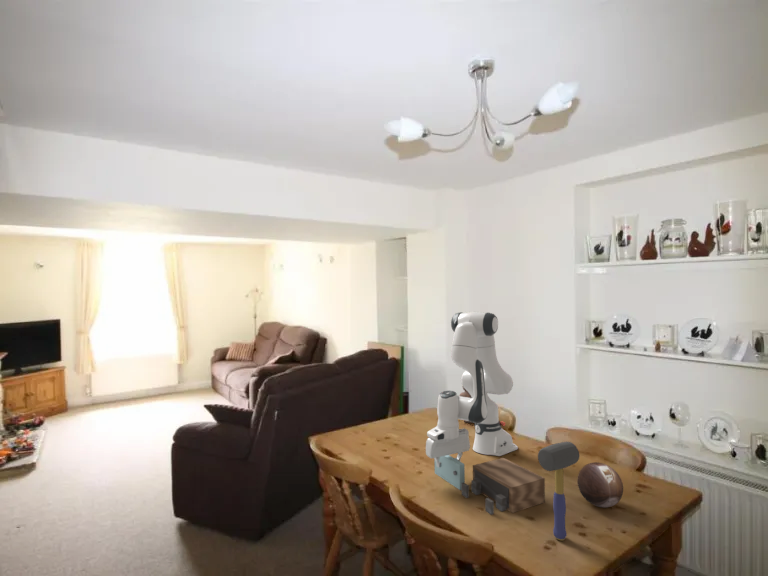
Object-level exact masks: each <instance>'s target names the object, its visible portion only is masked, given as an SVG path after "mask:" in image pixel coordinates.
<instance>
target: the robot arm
mask: <svg viewBox="0 0 768 576" xmlns="http://www.w3.org/2000/svg"><path fill="white" fill-rule="evenodd" d="M450 323H451V324H450V326H451V329H452V330H451V331H453V336H452V342H451V347H450V348H451V349H450V357H451V360H452V361H453V363H454V364H455V365H456V366H458V367H459V368H461V369H462V370H464V372H463V373H462V374H461V378H460V382H461V387H462V386H463V387H464V388H465V389H466V390H467V391H468V392H469V394H470V395H471V397H472V398H468V397H462V396H459V395H458V393H457V392H455V391H454V390H443V391H441V392H440V393H439V394H438V398H437V410H436V411H437V412H436V413H437V418H438V419H437V425H436V426H435V427H433V428H431V429H430V430H428V431H427V432H426V436H427V437H428V438H427V439H426V441H425V455H426V456H427V457H428V458H429V459H433V460H434V459H435V461H436V466H437V467H438V468H439V467H442V463H441V462H439V460H438V459H439V457H441V456H446V455H450V456H451V455H454V454H457V455H456V457H454V458H455V459H457V460H458V461H460V462H461V459H462V456H463V453H465V452H469V450H470V449H471V445H470V438H469V436H470V433H469V432H470V431H469V429H466V428H465V427H463V428H460V422H459V420H461V421H464V420H466V421H470V423H473V424H474V431H475V432H474V442H473V444H472V445H473V446H472V450H473V451H474V452H476V453H478V454H482V455H486V456H487V455H488V456H497V457H501V456H504V455H506V454H508V453H512V452H514V451H516V450H518V449H519V446H517V444H515V443H513V442H514V441H513V437H512V435H511V434H510V433H509V432H507V431H506V430H504V428H502V427H505V426H506V422H505V421H500V420H499V406H498V404H497V403H496V401H494V400H493V399H491V398H490V396H489V395H488V394H490V395H498V396H499V395H508V394H510V393H511V391H512V390H513V387H514V382H513V381H514V379H513V378H512V376H511V375H510V374H509V373H508V372H506V371H505V370H504V369H503V367H502V366H501V365H500V363H499V361H498V357H497V351H496V343H495V342H496V341H495V336H494V335H495V334H496V333H497V331H498V330H499V329H498V328H499V320H498V317H497V316H496V314H494V313H491V312H482V311H469V312H466V311H465V312H455V314H453V316H452V317H451V320H450ZM463 387H462V388H463Z"/></svg>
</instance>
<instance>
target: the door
mask: <svg viewBox="0 0 768 576" xmlns="http://www.w3.org/2000/svg"><path fill="white" fill-rule="evenodd" d="M455 458H456V457H453V456H451V455H446V456H441V457H439V459H438V460H439V462H441V463H442V467H439V468H438V467H437V466H436V461H435V459H434V458H433V461H434V474H435V475H437V476H438V477H440V478H441V479H443V480H444V481H446V482H447V483H448V484H449V485H452V486H453V487H454V488H456V489H458V491H462V486H461V483H465V481H466V479H465V470H466V469H465V463H463V462H462V461H461V460H460V461H458V460H457V459H455Z"/></svg>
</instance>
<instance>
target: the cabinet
mask: <svg viewBox="0 0 768 576" xmlns="http://www.w3.org/2000/svg"><path fill="white" fill-rule="evenodd" d="M545 479H546V478H545V477H544V476H541V475H540V474H537V473H535V472H534V471H531V470H529V469H528V468H525V467H523V466H520V465H519V464H517V463H515V462H514V461H512V460H511V461H510V460H509V459H507V458H504V457H501V458H498V459H497V458H496V459H493V460H489V461H486V462H481V463H477V464H473V465H472V479H471V480H470V481H471V482H470V483H471V487H469V486H470V485H469V484H467V483H461V486H462V490H461V496H463V497H464V498H466V499H468V498H470V488H471V493H472V494H474V495H475V496H478V495H483V496H485V497H486V498H484V499H485V501H484V502H485V505H484V507H485V512H486V513H487V514H489V515H490V516H492V515H494V514H495V511H494V510H495V509H497V510H498V511H500V512H505V511H509V512H510V513H512V514H513V513H516V512H519V511H523V510H525V509H527V508H532V507H534V506H537V505H541V504H544V503H546V489H545V488H546V485H545V484H546V483H545V481H546V480H545ZM494 502H495V503H494ZM494 504H495V507H494Z"/></svg>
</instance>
